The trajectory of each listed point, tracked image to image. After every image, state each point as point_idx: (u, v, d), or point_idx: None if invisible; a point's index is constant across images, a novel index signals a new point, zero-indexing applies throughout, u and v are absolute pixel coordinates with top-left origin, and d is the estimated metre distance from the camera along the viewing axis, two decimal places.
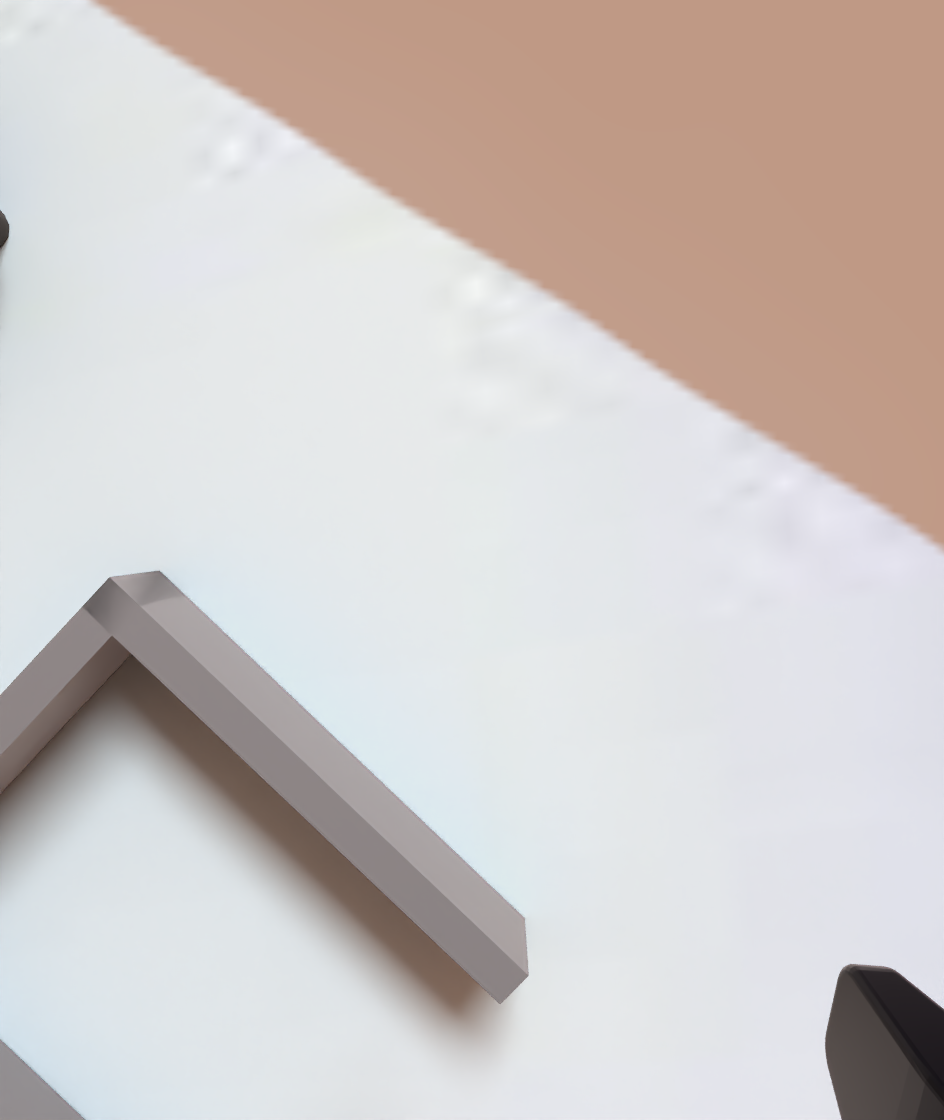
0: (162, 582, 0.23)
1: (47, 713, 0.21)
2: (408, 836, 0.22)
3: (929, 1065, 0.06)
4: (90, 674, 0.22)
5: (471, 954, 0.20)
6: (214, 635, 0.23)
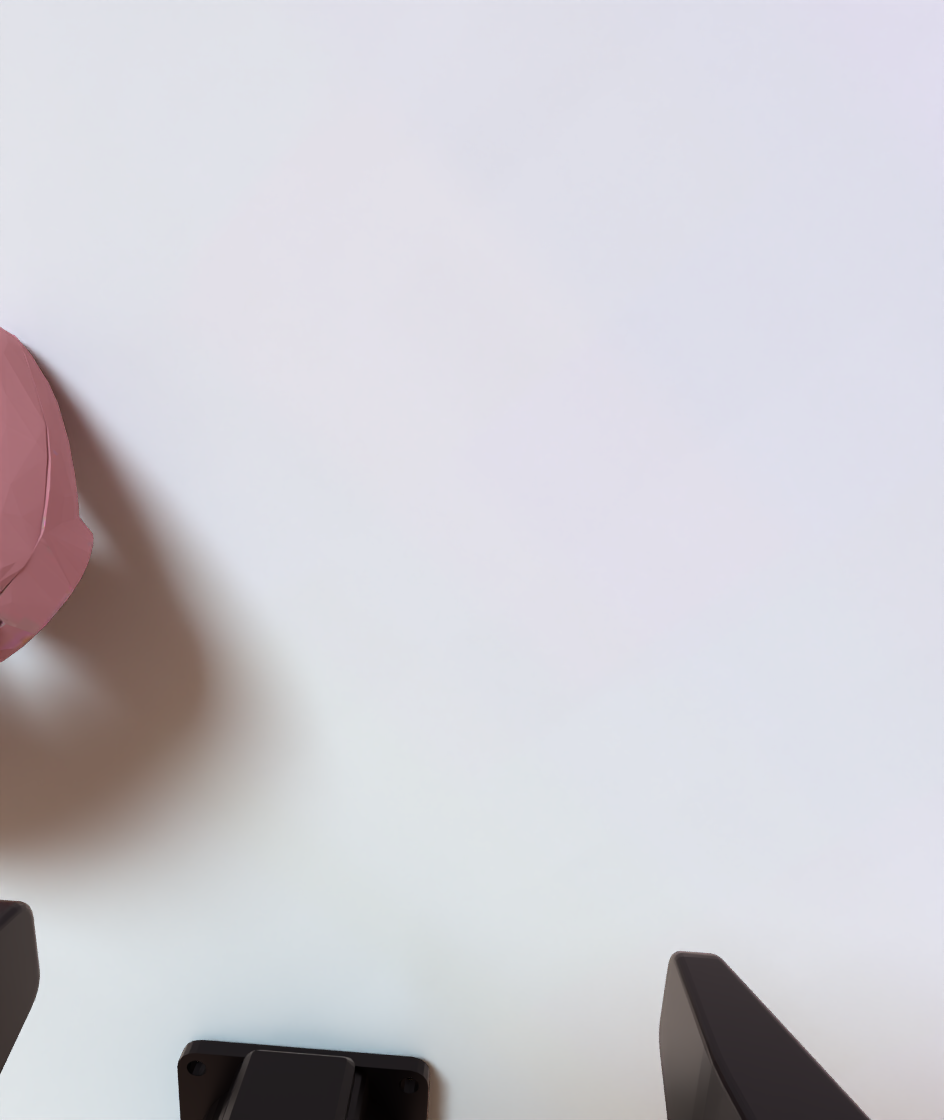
0: None
1: None
2: None
3: (720, 1049, 0.06)
4: None
5: None
6: None
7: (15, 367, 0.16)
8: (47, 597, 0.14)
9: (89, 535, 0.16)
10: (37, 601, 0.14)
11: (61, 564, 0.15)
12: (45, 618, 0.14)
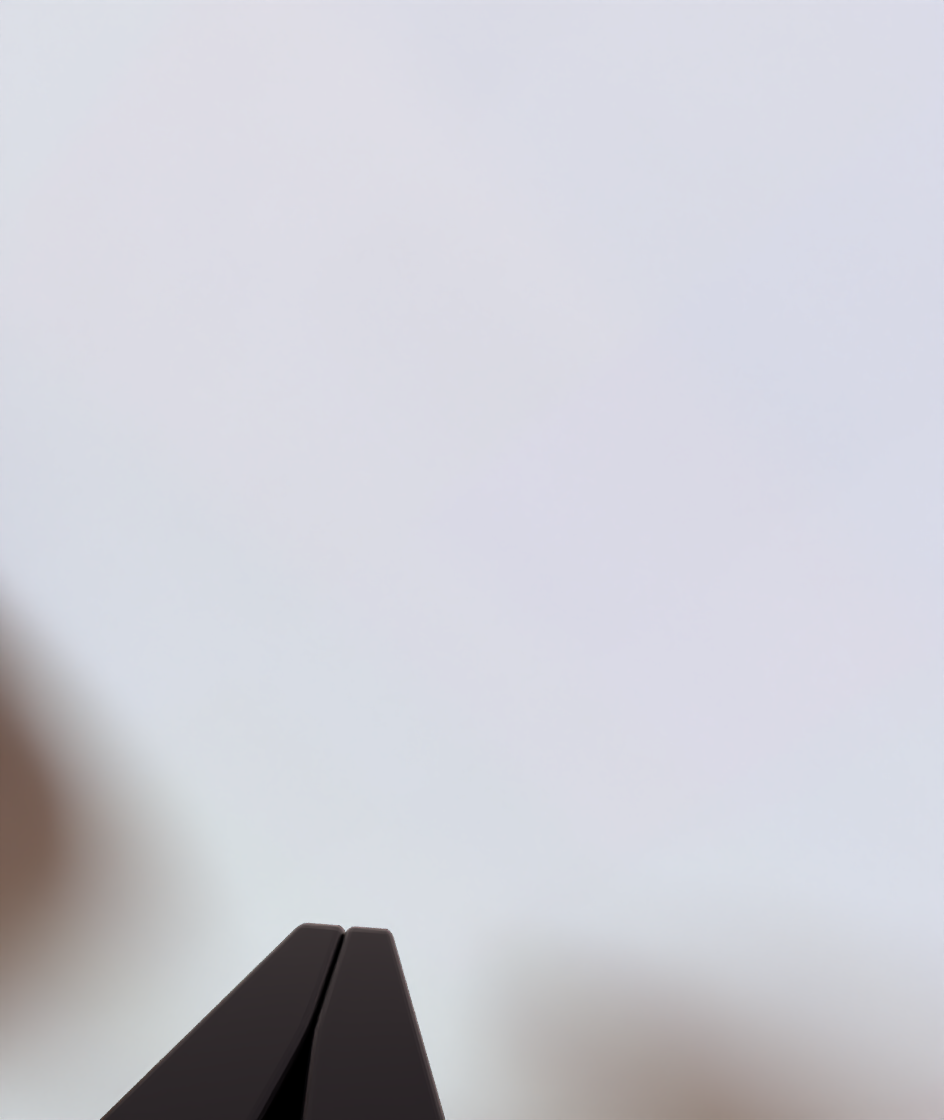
0: None
1: None
2: None
3: (328, 1018, 0.06)
4: None
5: None
6: None
7: None
8: None
9: None
10: None
11: None
12: None
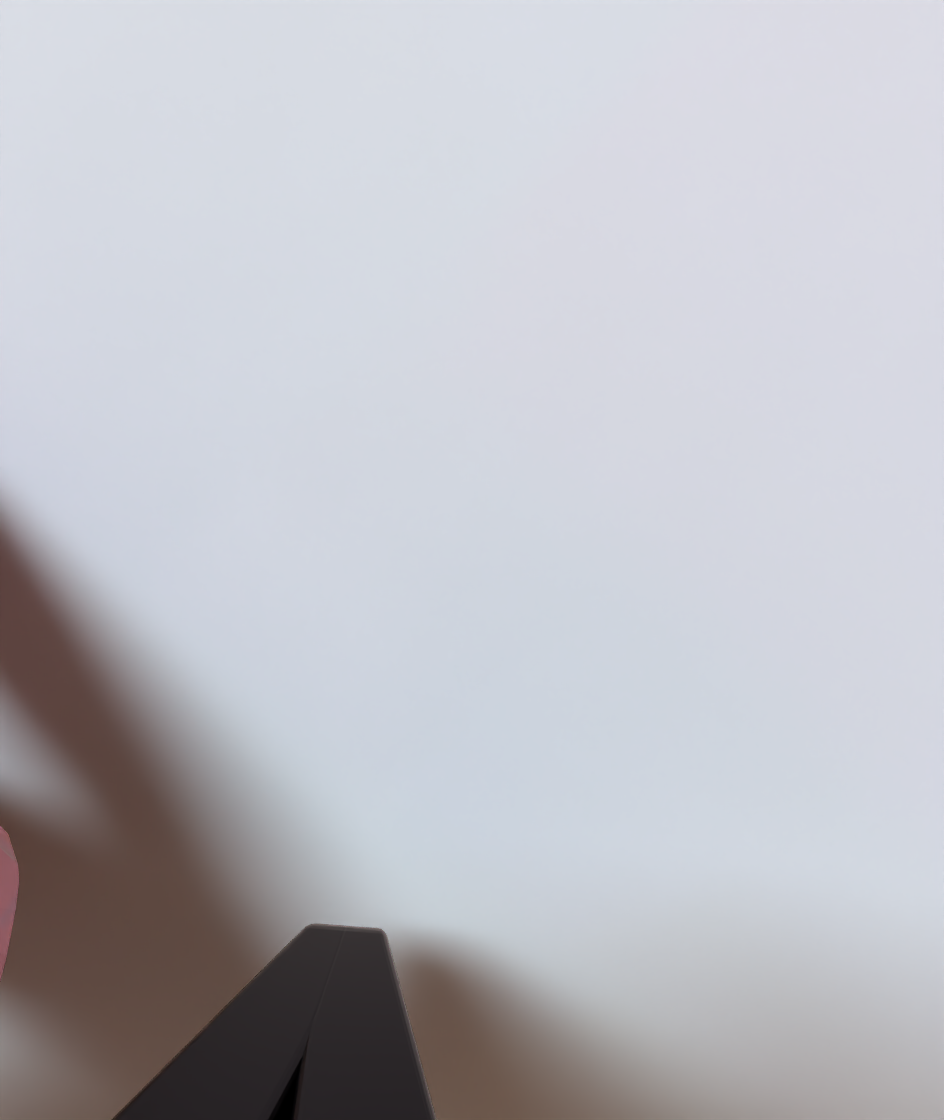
0: None
1: None
2: None
3: (320, 1017, 0.06)
4: None
5: None
6: None
7: None
8: None
9: (6, 881, 0.06)
10: None
11: None
12: None
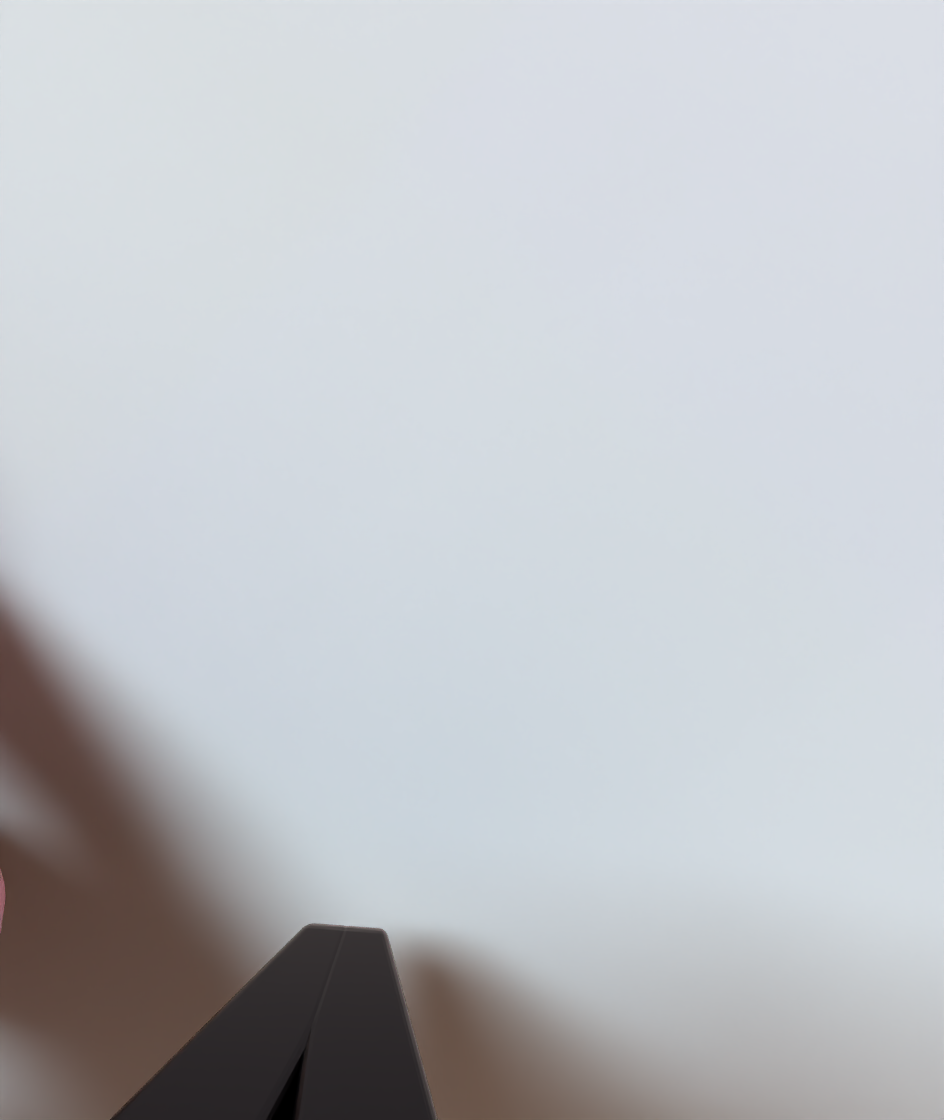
0: None
1: None
2: None
3: (321, 1018, 0.06)
4: None
5: None
6: None
7: None
8: None
9: None
10: None
11: None
12: None
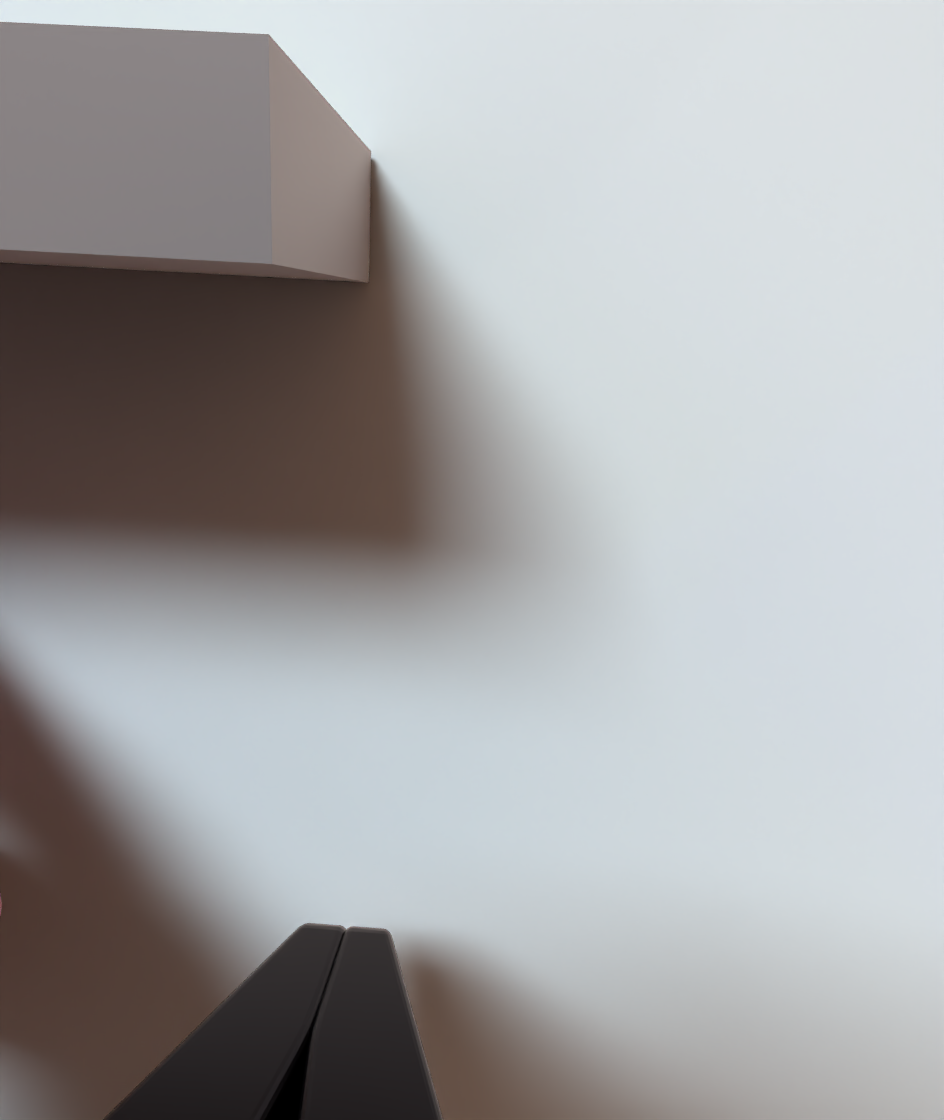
0: None
1: None
2: None
3: (326, 1018, 0.06)
4: None
5: None
6: None
7: None
8: None
9: None
10: None
11: None
12: None
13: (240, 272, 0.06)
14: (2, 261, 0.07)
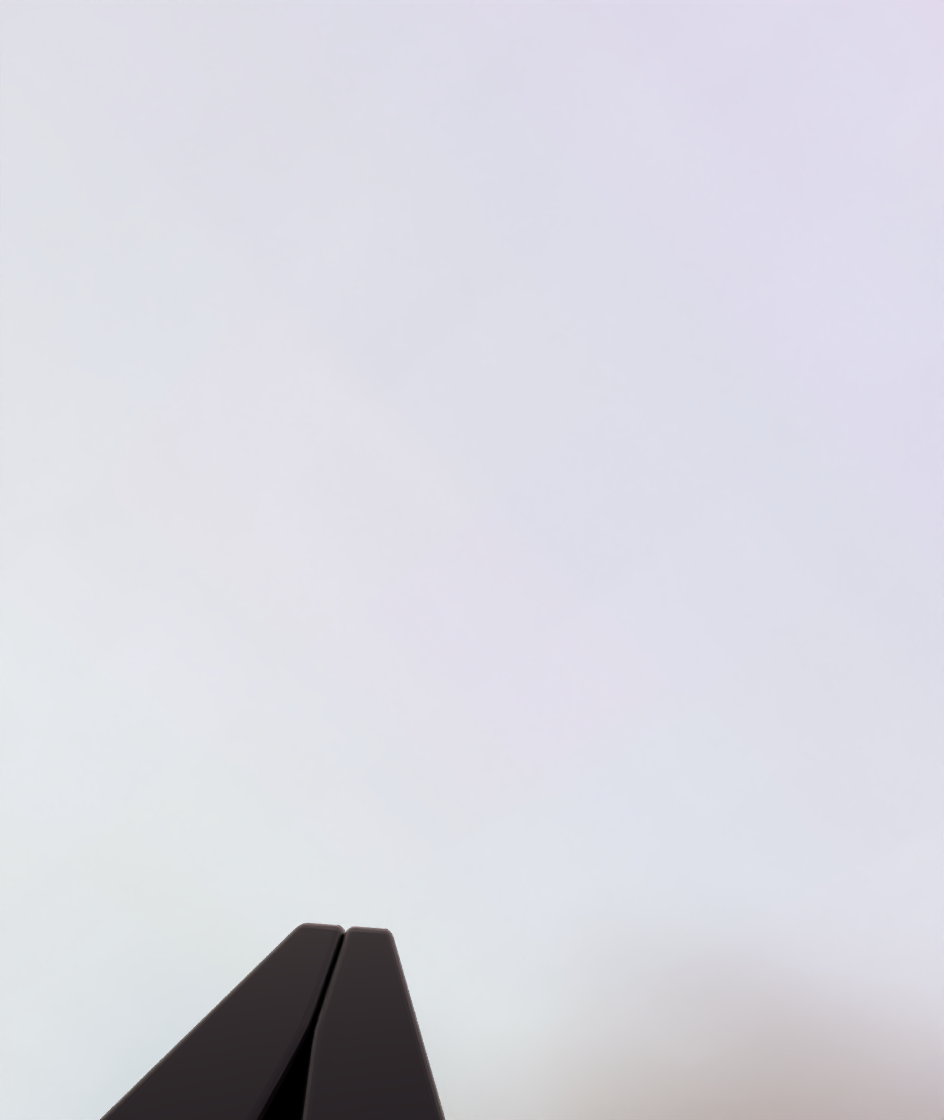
0: None
1: None
2: None
3: (327, 1018, 0.06)
4: None
5: None
6: None
7: None
8: None
9: None
10: None
11: None
12: None
13: None
14: None
